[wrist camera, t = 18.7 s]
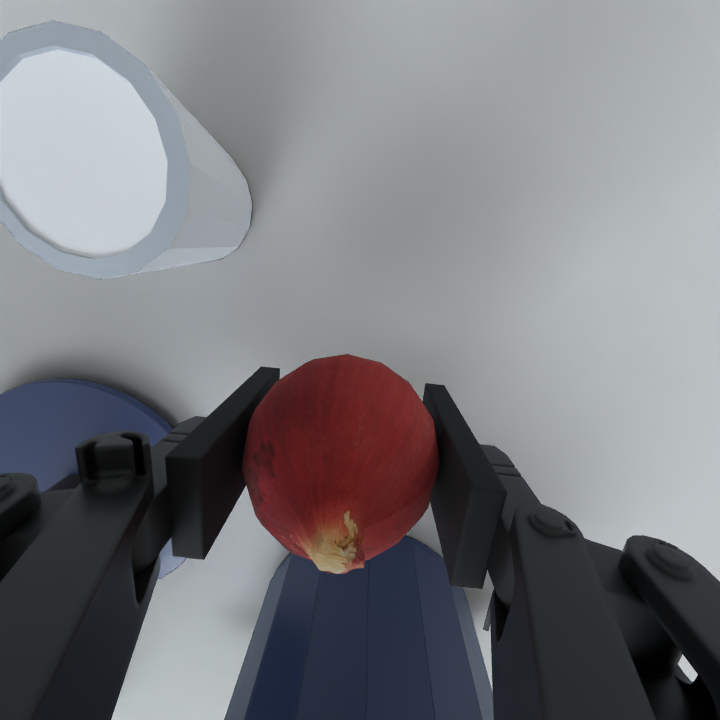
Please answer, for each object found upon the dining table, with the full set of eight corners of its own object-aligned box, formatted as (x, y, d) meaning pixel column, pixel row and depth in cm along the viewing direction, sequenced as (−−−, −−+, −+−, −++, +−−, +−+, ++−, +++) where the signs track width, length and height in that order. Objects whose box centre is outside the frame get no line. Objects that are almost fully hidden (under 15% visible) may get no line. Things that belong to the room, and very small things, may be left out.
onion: (332, 482, 15) (290, 709, 7) (253, 382, 14) (106, 530, 6) (445, 420, 14) (532, 610, 6) (370, 305, 13) (367, 371, 5)
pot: (209, 542, 22) (83, 752, 13) (499, 512, 21) (608, 725, 11) (258, 685, 26) (189, 934, 16) (510, 668, 24) (599, 934, 15)
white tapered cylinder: (268, 276, 17) (201, 282, 11) (140, 273, 18) (-5, 277, 11) (260, 124, 16) (173, 16, 9) (117, 123, 16) (-74, 17, 9)
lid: (-56, 393, 20) (-362, 482, 12) (170, 357, 19) (8, 429, 11) (43, 581, 24) (-136, 751, 16) (237, 562, 23) (156, 736, 14)
